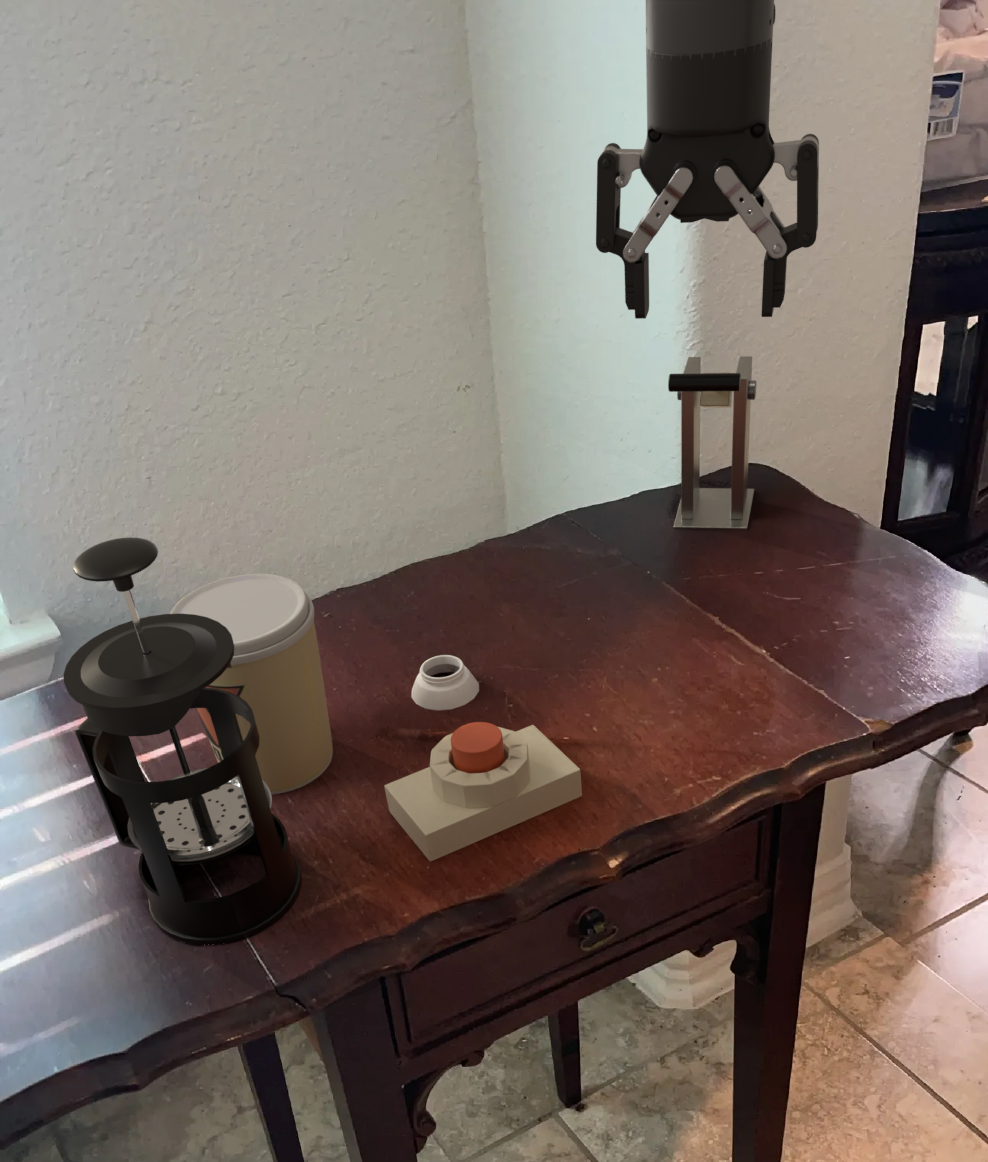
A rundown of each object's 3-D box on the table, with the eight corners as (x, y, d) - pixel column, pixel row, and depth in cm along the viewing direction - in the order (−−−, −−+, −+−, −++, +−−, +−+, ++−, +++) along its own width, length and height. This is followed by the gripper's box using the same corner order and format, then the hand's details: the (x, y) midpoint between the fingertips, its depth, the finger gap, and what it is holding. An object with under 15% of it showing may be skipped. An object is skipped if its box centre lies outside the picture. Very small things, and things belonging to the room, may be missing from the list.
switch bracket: (746, 541, 103) (752, 384, 95) (673, 539, 105) (672, 385, 96) (754, 501, 108) (760, 349, 100) (683, 500, 110) (683, 350, 101)
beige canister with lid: (189, 756, 89) (140, 606, 81) (307, 705, 92) (271, 555, 84) (245, 822, 83) (198, 666, 75) (369, 765, 86) (337, 609, 78)
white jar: (465, 674, 93) (402, 695, 92) (460, 639, 91) (396, 660, 90) (492, 708, 89) (427, 730, 88) (488, 672, 87) (421, 694, 86)
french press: (338, 859, 79) (254, 517, 63) (262, 963, 73) (149, 613, 57) (182, 825, 83) (67, 496, 68) (97, 921, 77) (-51, 584, 61)
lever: (738, 399, 89) (740, 362, 88) (667, 400, 90) (669, 363, 90) (749, 407, 100) (751, 374, 99) (685, 407, 101) (687, 375, 101)
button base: (535, 750, 85) (530, 701, 83) (582, 796, 81) (579, 746, 78) (388, 811, 82) (378, 762, 79) (430, 862, 78) (421, 812, 75)
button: (489, 738, 81) (486, 715, 79) (514, 762, 78) (511, 739, 77) (445, 756, 80) (441, 733, 79) (468, 781, 78) (465, 758, 76)
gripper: (580, 55, 75) (592, 336, 86) (828, 38, 72) (808, 333, 82) (601, 29, 80) (610, 297, 91) (834, 13, 77) (814, 293, 88)
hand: (704, 313), depth 87 cm, fingers open, 8 cm apart
